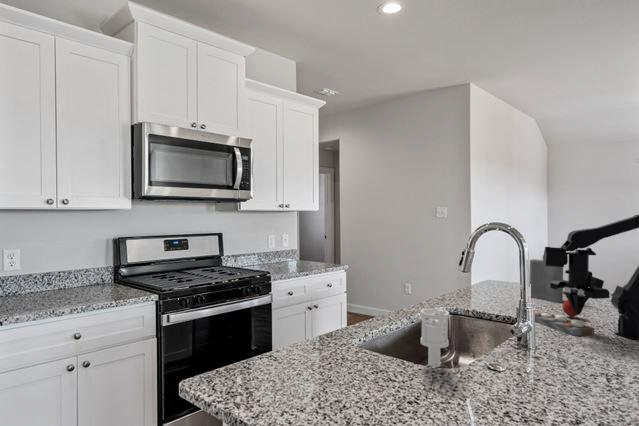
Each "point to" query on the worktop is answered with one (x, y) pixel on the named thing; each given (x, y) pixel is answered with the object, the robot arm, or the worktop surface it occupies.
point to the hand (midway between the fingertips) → (577, 314)
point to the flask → (545, 281)
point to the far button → (546, 314)
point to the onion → (568, 309)
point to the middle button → (561, 318)
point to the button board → (563, 325)
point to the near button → (577, 323)
